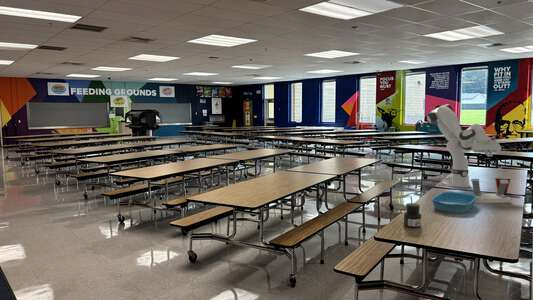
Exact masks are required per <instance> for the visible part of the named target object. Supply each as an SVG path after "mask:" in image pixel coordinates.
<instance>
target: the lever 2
mask: <svg viewBox="0 0 533 300" xmlns="http://www.w3.org/2000/svg"><path fill="white" fill-rule="evenodd" d="M508 182H509V181H507V180H500V185H499V188H498V191H497V190H496V193H495V194H496V195H497V196H505V193H504V192H505V189H506V186H507V184H508ZM509 183H510V182H509Z"/></svg>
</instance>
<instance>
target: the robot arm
mask: <svg viewBox="0 0 533 300" xmlns="http://www.w3.org/2000/svg"><path fill="white" fill-rule="evenodd" d="M426 120H427V121H428V122H429V123H430V124H432V125H433V124H436V123H437V127H438V129H439V131H440V132H441V134H442V135H443V136H444V138H445V139H446V140H447V143H446V149H447V152H449V153H450V155H451V157H452V168H451V170H450V171H451V172H450V173H449V174H448V175H447V176H446V177H445V181H442V184H443V185H446V186H447V187H451V188H469V187H470V186H471V184H470V176H469V160H468V158H467V157H466V156H465V153H470V152H473V153H475V154H476V153H482V154H485V155H486V156H487V157H489V158H491V157H493V156H494V155H493V153H500V152H501V151H502V147H501V145H500V143H499V142H498V141H497V138H495V137H491V136H488V135H487V134H486V131H485V129H484V127H483V126H482V125H481V124H479V123H473V124H471V125H470V126H469V127H468V128H466V129H465V130H462V127H461V124H460V121H459V118H458V116H457V114H456V113H455V110H454V108H453V106H452V105H451V104H449V103H447V104H444V105H441V106H439V107H436V108H434V109H433V110H431V111H429V112H427V114H426Z"/></svg>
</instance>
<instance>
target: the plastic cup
mask: <svg viewBox="0 0 533 300" xmlns="http://www.w3.org/2000/svg"><path fill="white" fill-rule="evenodd" d="M511 179H512V177H507V176H494V180H495V182H496V183H495V184H496V192H497V191H498V188H499V185H500V180H507V181H509V182H508V184H507V186H506V189H505V192H504V194H507V193H508V189H509V186H510V183H511Z"/></svg>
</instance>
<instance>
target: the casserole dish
mask: <svg viewBox="0 0 533 300" xmlns="http://www.w3.org/2000/svg"><path fill="white" fill-rule="evenodd" d="M471 194H472V193H466V192H458V191H443V192H441V193H438V194H437V195H434V196H433V197H432V198H431V201H432V204H433V206H434V208H435V209H436V210H437V211H442V212H446V213H452V212H453V213H452V214H464V213H467V212H469V210H470V209H472V208H473V207H474V205H475V204H476V203H477V202H476V199H477V196H475V195H471Z"/></svg>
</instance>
